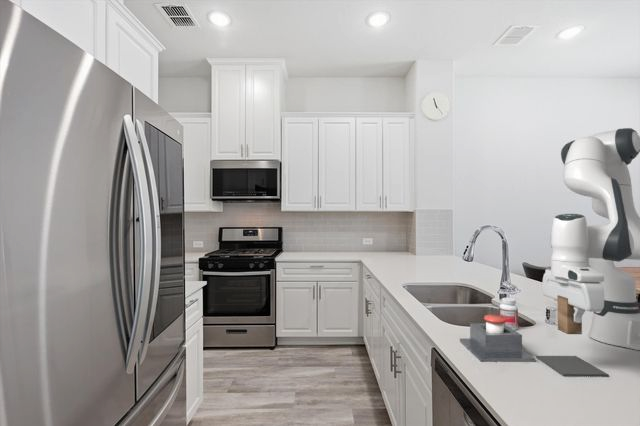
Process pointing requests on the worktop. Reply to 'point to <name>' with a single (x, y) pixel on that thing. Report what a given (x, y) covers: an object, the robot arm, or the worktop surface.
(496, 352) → the box
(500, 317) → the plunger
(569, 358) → the mat
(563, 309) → the stacked wooden blocks
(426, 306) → the worktop surface
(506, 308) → the pill bottle
